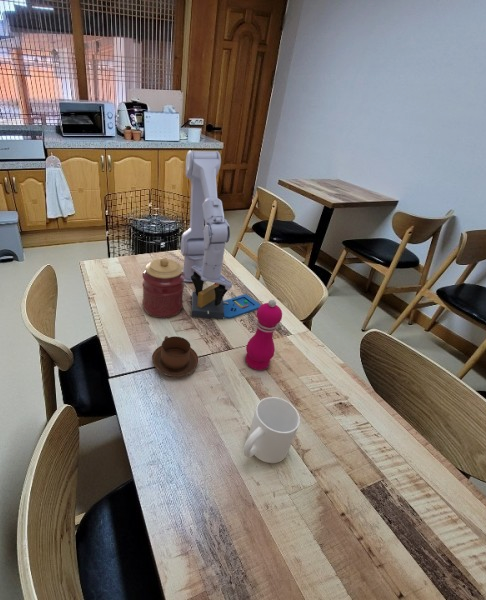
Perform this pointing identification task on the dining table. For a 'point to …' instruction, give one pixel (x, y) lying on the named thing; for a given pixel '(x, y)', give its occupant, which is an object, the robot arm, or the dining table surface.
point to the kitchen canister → (163, 288)
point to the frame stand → (207, 309)
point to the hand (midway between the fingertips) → (208, 299)
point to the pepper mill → (263, 336)
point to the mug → (272, 430)
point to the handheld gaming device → (239, 306)
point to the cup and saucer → (175, 357)
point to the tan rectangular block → (206, 295)
